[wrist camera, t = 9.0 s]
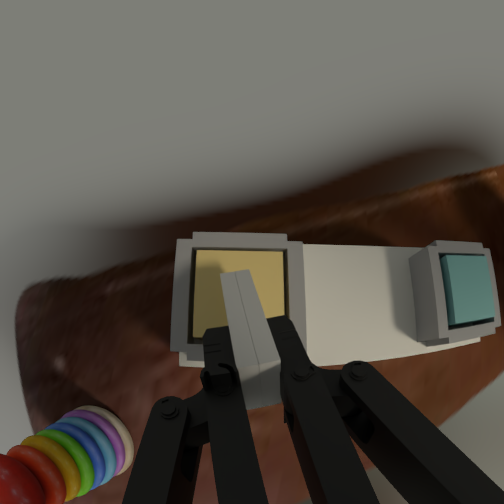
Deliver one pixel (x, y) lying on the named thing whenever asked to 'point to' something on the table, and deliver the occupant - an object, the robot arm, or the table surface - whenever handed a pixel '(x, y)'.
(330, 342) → the button console
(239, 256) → the mustard button
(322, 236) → the table surface
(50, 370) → the table surface
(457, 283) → the teal button
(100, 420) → the stacking toy
